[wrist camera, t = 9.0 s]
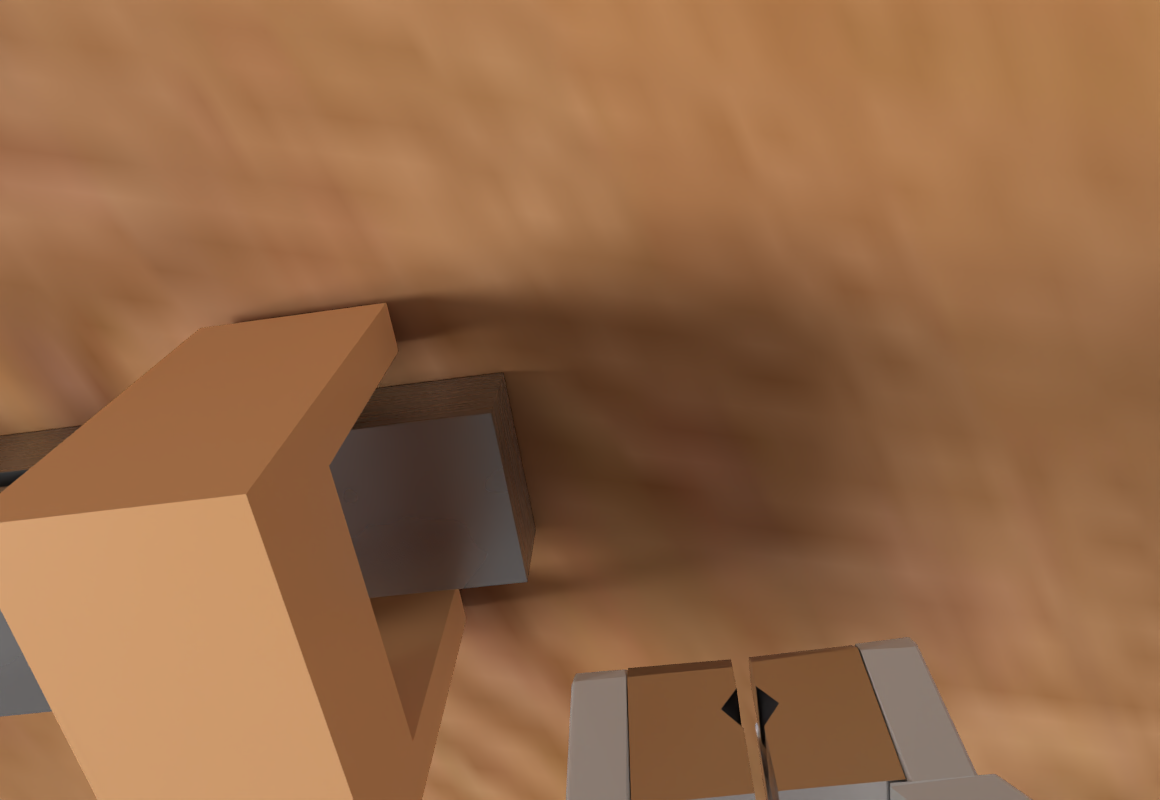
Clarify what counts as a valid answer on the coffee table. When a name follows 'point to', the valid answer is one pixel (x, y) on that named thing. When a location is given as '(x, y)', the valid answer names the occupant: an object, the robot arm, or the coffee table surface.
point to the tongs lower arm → (411, 486)
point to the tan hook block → (226, 580)
